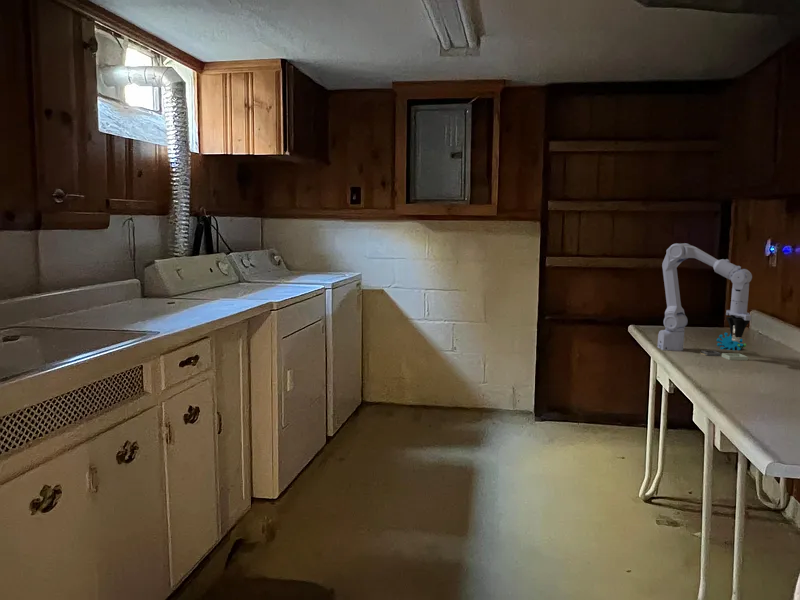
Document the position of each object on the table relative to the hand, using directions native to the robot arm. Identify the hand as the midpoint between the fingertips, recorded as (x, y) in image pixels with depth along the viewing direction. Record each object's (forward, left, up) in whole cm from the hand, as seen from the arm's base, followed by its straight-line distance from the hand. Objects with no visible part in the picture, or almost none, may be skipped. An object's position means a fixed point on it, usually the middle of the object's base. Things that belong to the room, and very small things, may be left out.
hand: (736, 336), depth 258 cm
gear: (+9, +20, -10) cm, 24 cm away
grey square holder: (-6, +7, -10) cm, 13 cm away
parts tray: (0, 0, -10) cm, 10 cm away
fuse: (0, 0, -2) cm, 2 cm away
